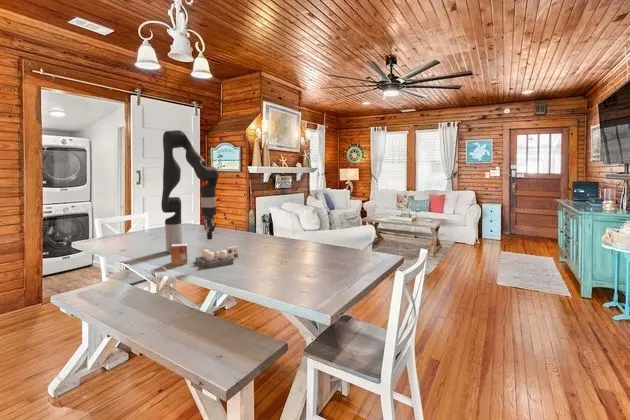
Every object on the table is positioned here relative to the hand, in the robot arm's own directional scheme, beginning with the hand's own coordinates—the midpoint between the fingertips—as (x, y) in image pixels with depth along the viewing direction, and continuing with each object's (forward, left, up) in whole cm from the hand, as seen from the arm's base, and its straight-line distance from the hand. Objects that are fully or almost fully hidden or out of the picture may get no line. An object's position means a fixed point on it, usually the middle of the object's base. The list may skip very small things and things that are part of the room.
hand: (209, 239), depth 176 cm
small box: (-14, -11, -15) cm, 23 cm away
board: (-4, +4, -14) cm, 15 cm away
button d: (-7, +7, -14) cm, 17 cm away
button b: (0, +7, -12) cm, 14 cm away
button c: (-7, 0, -12) cm, 14 cm away
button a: (0, 0, -12) cm, 12 cm away
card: (-6, +15, -14) cm, 22 cm away
